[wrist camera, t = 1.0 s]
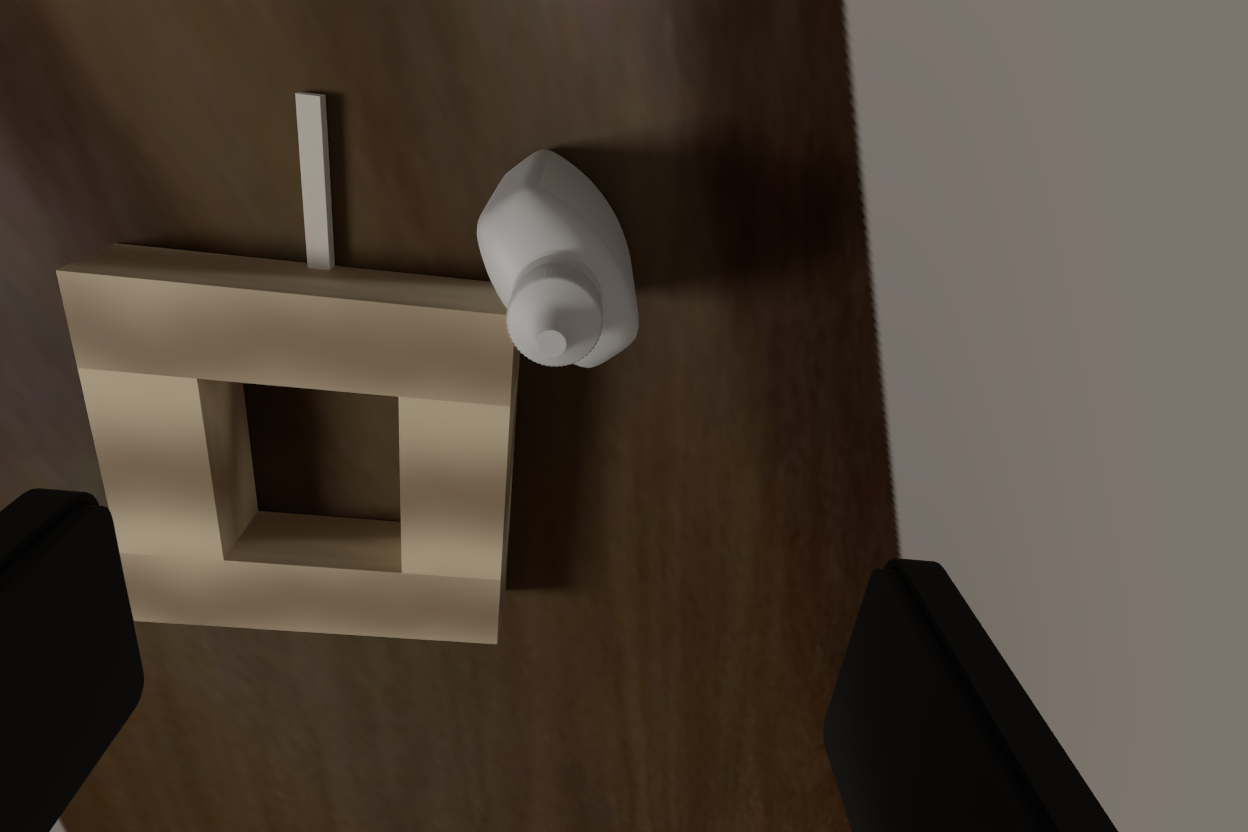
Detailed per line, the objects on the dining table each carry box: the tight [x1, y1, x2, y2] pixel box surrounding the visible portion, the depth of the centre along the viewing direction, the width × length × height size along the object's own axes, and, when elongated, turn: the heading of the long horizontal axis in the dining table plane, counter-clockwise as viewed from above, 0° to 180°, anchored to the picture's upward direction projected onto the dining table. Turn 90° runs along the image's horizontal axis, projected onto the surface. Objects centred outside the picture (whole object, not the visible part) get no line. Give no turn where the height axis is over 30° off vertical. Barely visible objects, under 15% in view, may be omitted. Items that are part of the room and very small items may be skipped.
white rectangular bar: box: [295, 92, 335, 270], centre depth 27 cm, size 6×1×1 cm, turn 173°
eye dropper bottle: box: [477, 149, 639, 368], centre depth 23 cm, size 4×6×12 cm
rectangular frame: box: [56, 243, 520, 644], centre depth 31 cm, size 15×15×4 cm
